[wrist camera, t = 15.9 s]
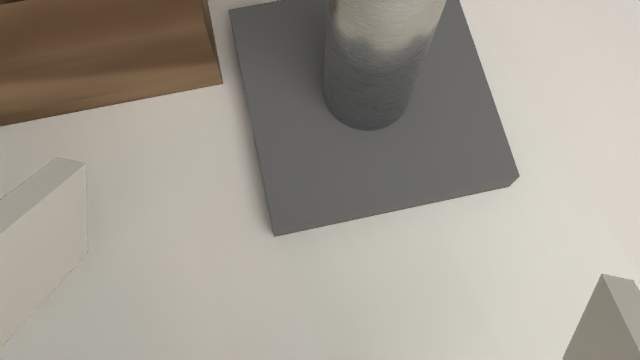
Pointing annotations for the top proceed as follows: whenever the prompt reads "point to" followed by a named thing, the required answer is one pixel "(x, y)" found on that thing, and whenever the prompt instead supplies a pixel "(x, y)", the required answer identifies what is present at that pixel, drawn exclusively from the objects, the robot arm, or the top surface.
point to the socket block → (100, 53)
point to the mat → (358, 145)
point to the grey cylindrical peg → (375, 57)
